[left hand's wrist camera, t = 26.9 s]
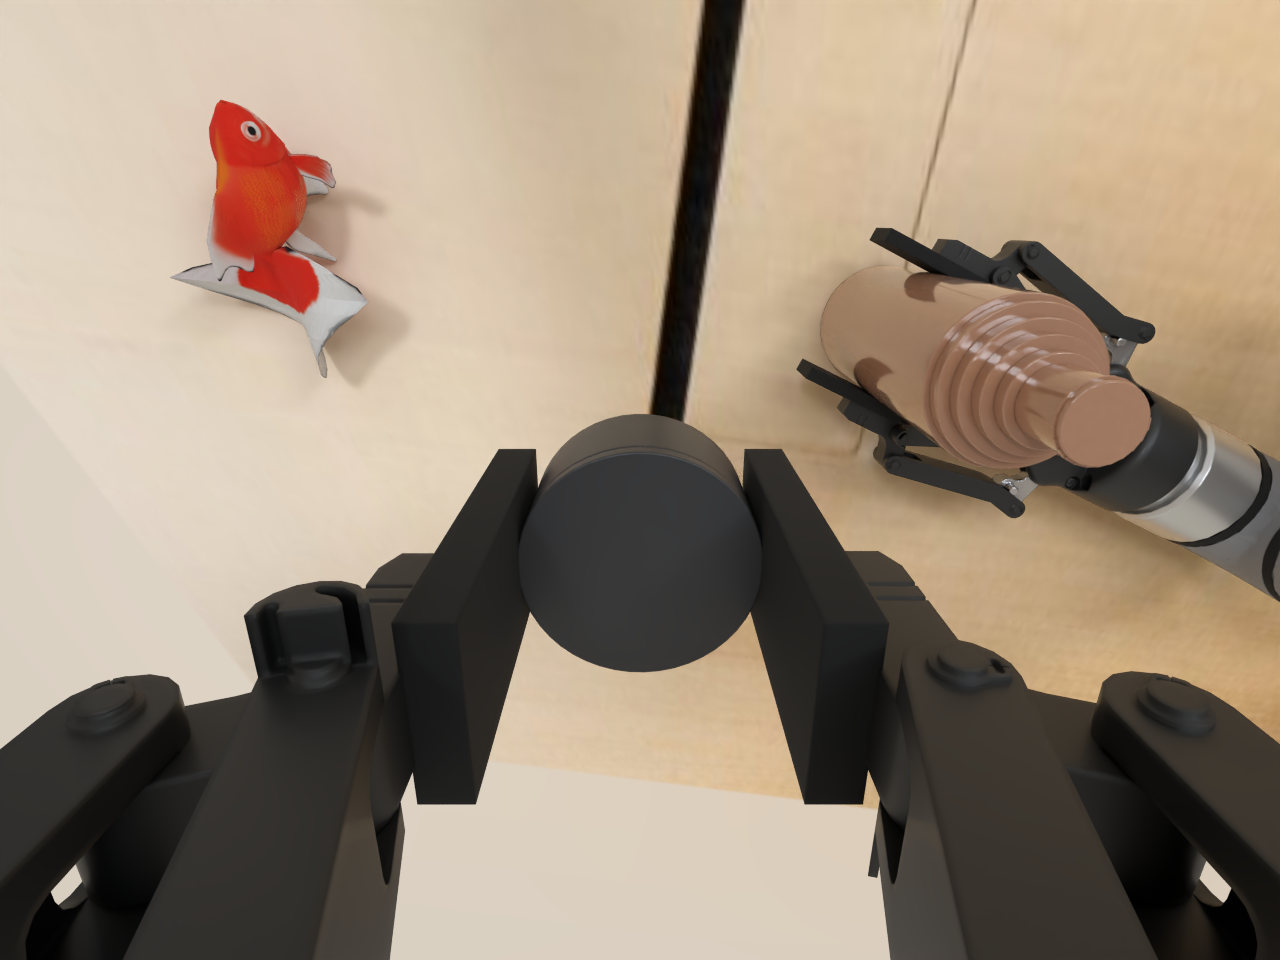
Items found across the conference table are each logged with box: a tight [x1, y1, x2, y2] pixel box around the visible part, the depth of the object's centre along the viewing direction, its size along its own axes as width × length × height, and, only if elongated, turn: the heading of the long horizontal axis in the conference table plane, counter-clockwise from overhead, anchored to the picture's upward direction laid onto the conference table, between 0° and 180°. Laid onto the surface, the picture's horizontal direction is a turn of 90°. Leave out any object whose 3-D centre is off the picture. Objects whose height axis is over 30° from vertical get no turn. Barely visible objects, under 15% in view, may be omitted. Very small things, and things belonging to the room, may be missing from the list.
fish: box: [170, 100, 368, 378], centre depth 42 cm, size 11×16×10 cm
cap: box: [518, 414, 762, 672], centre depth 13 cm, size 4×4×2 cm
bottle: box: [821, 266, 1152, 469], centre depth 36 cm, size 8×8×25 cm
